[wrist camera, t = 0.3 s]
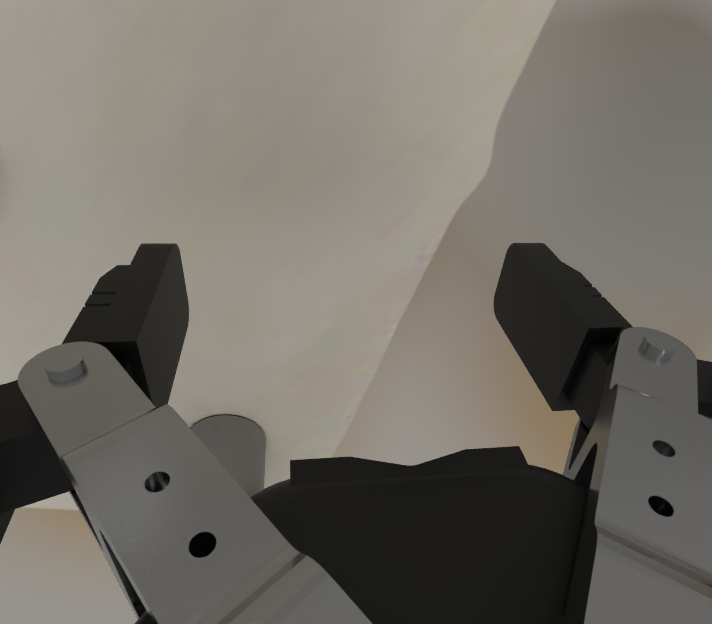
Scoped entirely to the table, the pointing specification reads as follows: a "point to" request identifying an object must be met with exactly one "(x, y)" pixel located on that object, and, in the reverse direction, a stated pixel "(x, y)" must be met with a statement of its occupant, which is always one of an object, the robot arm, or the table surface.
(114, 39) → the table surface
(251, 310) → the table surface
